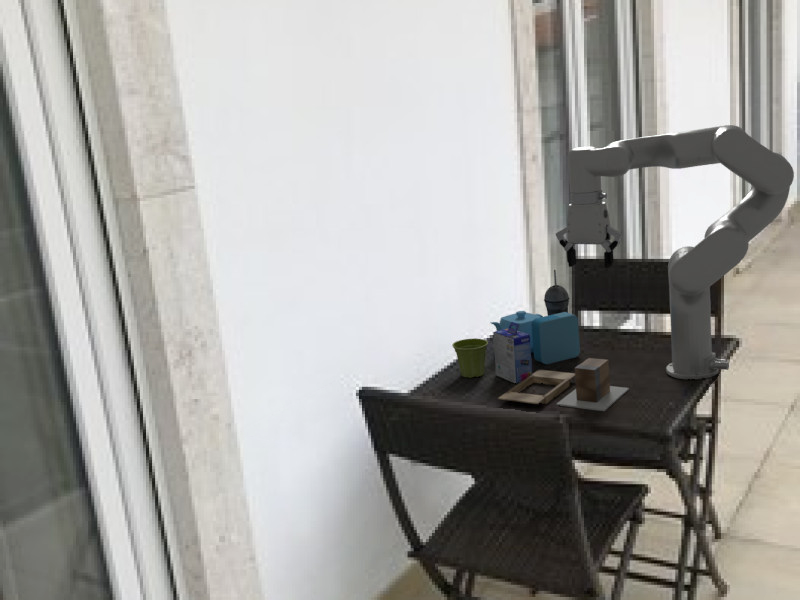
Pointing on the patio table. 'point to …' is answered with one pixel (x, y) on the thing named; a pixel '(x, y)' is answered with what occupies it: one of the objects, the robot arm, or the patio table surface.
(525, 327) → the teapot
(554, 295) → the beverage cup
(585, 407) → the mat
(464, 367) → the plant pot
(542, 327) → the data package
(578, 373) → the walnut box
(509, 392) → the tan flat frame
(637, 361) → the patio table surface
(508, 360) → the ink cartridge box
